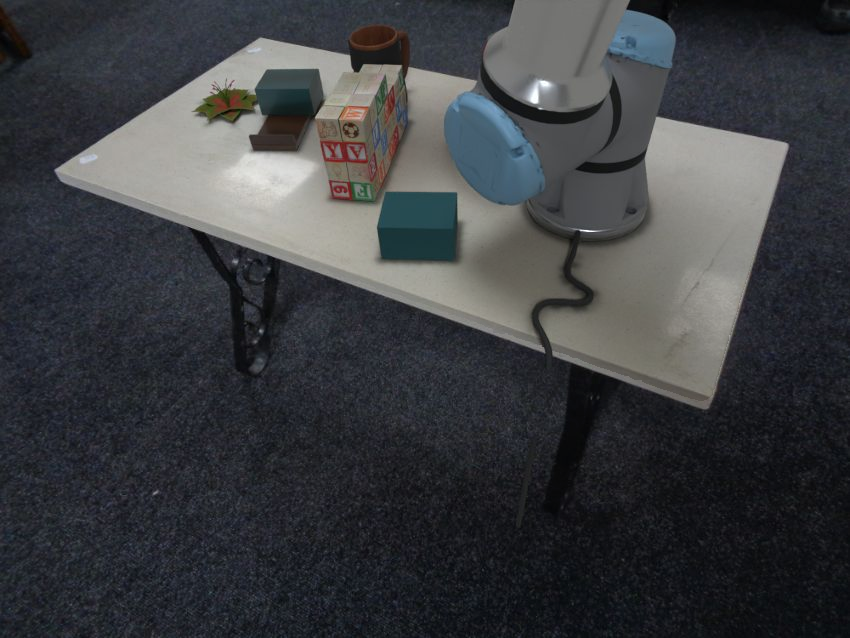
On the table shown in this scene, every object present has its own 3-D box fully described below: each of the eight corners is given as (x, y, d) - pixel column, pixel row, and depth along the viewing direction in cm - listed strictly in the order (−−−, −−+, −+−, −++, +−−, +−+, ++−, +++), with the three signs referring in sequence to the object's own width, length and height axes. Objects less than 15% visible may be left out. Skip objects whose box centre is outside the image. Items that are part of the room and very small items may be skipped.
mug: (431, 93, 95) (427, 22, 86) (384, 126, 89) (375, 53, 80) (393, 80, 99) (385, 10, 90) (346, 110, 93) (333, 39, 84)
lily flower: (224, 86, 102) (215, 61, 99) (277, 97, 98) (270, 71, 95) (179, 118, 95) (168, 92, 92) (235, 131, 91) (226, 104, 88)
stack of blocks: (371, 120, 91) (360, 42, 82) (408, 122, 90) (402, 43, 81) (331, 199, 77) (313, 116, 68) (375, 202, 76) (362, 119, 67)
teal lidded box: (302, 151, 86) (294, 117, 82) (247, 150, 87) (236, 118, 83) (326, 97, 97) (320, 65, 93) (276, 97, 98) (268, 66, 94)
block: (454, 260, 68) (453, 228, 64) (381, 258, 69) (376, 227, 65) (457, 224, 72) (457, 192, 68) (389, 222, 73) (385, 191, 69)
